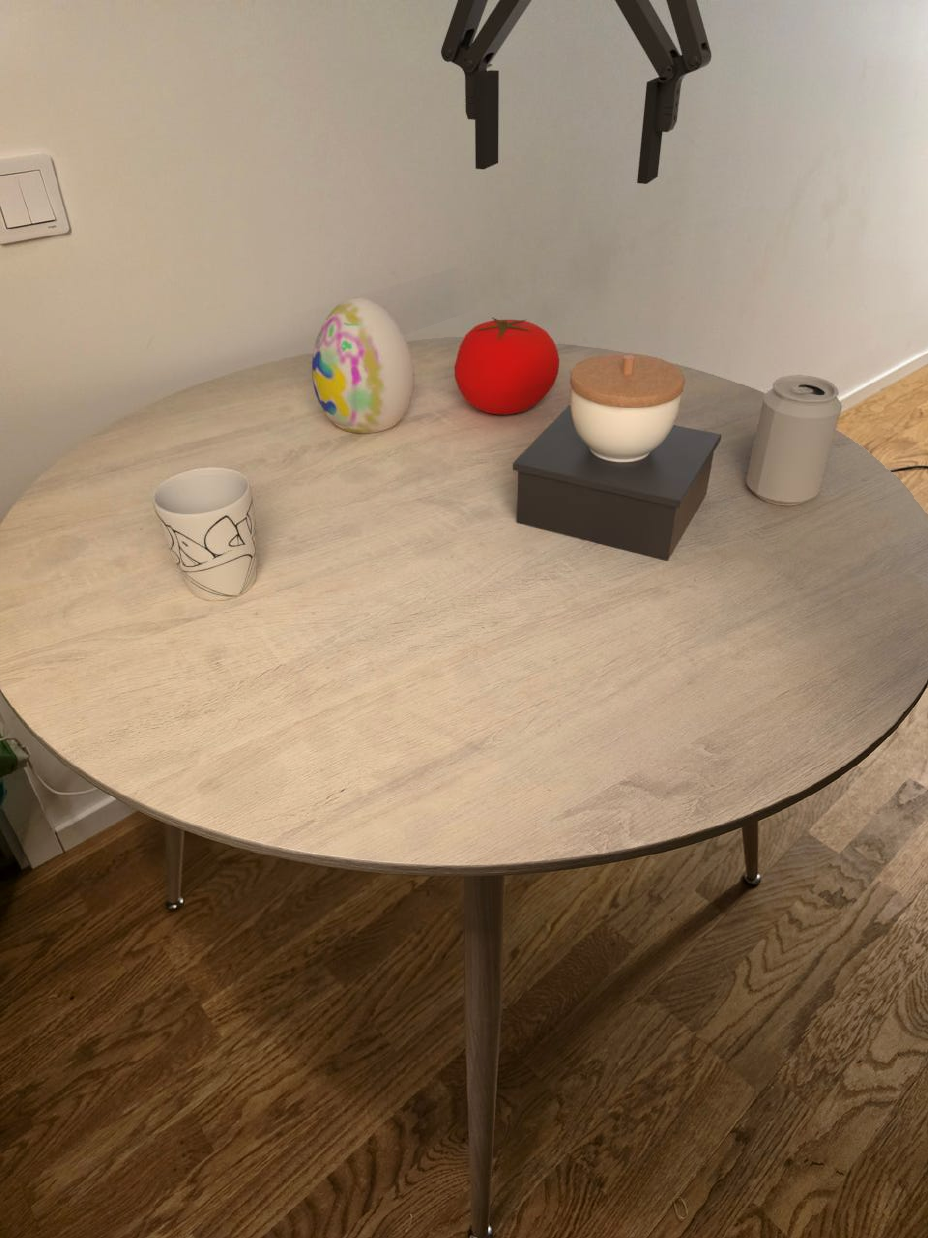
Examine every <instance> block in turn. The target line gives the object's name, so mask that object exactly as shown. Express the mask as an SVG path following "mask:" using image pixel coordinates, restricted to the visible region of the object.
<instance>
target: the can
mask: <svg viewBox="0 0 928 1238" xmlns="http://www.w3.org/2000/svg"><path fill="white" fill-rule="evenodd" d="M839 392H840V391H839V388H838V387H837V386H836V385H835V383H833V382H831V381H828V380H826V379H823V378H820V377H816V376H812V375H802V374H797V375H796V374H795V375H787V376H786V375H785V376H781V377H780V378H778V379H775V380H774V382H773V383H772V388H771V389H769V390H768V391H767V392H766V393H765V394H764V395H763V397H762V403H761V408H760V412H759V417H758V421H757V426H756V431H755V437H754V442H753V446H752V451H751V455H750V460H749V465H748V469H747V476H746V484H747V486H748V488H749V490H751V491H752V492H753V494H754V495H755V496H756V497H757V498H759V499H760V500H762V501H764V502H766V503H769V504H773V505H777V506H784V507H785V506H797V505H802V504H804V503H805V502H808V501H810V500H811V499H814V498H816V497H817V495H818V494H819V492H820V490H821V486H822V483H823V479H824V475H825V471H826V467H827V464H828V460H829V456H830V453H831V450H832V446H833V442H834V438H835V434H836V430H837V428H838V423H839V420H840V415H841V412H842V408H843V406H842V402H841V401H840V399H839V398H838V396H839V394H840V393H839Z"/></svg>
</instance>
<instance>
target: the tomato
mask: <svg viewBox="0 0 928 1238" xmlns="http://www.w3.org/2000/svg"><path fill="white" fill-rule="evenodd" d="M491 319H492V320H489V321H484V322H482V323H479V324H477V325H475V326H473V328H471V329H470V330H469V331H468V332H467V333H466V334H465V335H464V337H463V339H462V341H461V343H460V346H459V349H458V352H457V355H456V360H455V363H454V379H455V383H456V385H457V387H458V389H459V391H460V393H461V395H462V397H463V398H464V399H465V400H466V401H467V402H468V403H469V404H470V405H471V406H472V407H475V408H476V409H477V410H479V411H481V412H484V413H487V414H490V415H491V414H492V415H515V414H519V413H522V412H524V411H528V409H530V408H532V407H533V406H536V405H537V404H538V403H539V402H540V401H541V400H542V399H544V398H545V397H546V396H547V394H548V393H549V392H550V391H551V390H552V388H553V386H554V385H555V383H556V381H557V377H558V375H559V370H560V369H559V368H560V357H559V351H558V348H557V346H556V343H555V341H554V339H553V338H552V337H551V335H550V334H549V333H548V332H547V330H545V329H544V328H542V327H541V326H539V325H538V324H535V323H534V322H530V321H528V320H526V319H521V320H520V319H498V318H497V319H496V318H495V317H491Z"/></svg>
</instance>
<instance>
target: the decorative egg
mask: <svg viewBox="0 0 928 1238" xmlns="http://www.w3.org/2000/svg"><path fill="white" fill-rule="evenodd" d="M311 365H312V366H311V373H312V383H313V388H314V393H315V396H316V398H317V401H318V403H319V405H320V407H321V409H322V411H323V412H324V414H325V415H326V416H327V418H328V419H329V420H330V421H331V422H332V423H333V424H334V425H335V426H336V427H338V428H339V429H341V430H343V431H345V432H348V433H353V434H364V435H365V434H375V433H379V432H384V431H387V430H389V429H392V428H393V427H395V426H396V425H397V424H398V423H399V422H400V421H401V420H402V418H403V417H404V416H405V414H406V412H407V411H408V409H409V406H410V404H411V400H412V399H413V398H412V397H413V392H414V388H415V387H414V385H415V372H414V371H415V370H414V369H415V368H414V364H413V358H412V354H411V350H410V347H409V344H408V342H407V339H406V337H405V336H404V334H403V331H402V330H401V328H400V326H399V325H398V324H397V322H396V321H395V319H394V318H393V317H392V316H391V315H390V313H388V312H387V311H386V309H384V308H383V307H382V306H381V305H380V304H378V303H376V302H375V301H373V300H371V299H368V298H365V297H358V296H357V297H351V298H350V297H349V298H348V299H345V300H343V301H342V302H340V303H339V304H337V305H336V306H335V307H334V308H333V309H332V310H331V311H330V313H329V314H328V315H327V316H326V318H325V320H324V322H323V323H322V325H321V327H320V329H319V331H318V333H317V337H316V340H315V344H314V348H313V353H312V361H311Z"/></svg>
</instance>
